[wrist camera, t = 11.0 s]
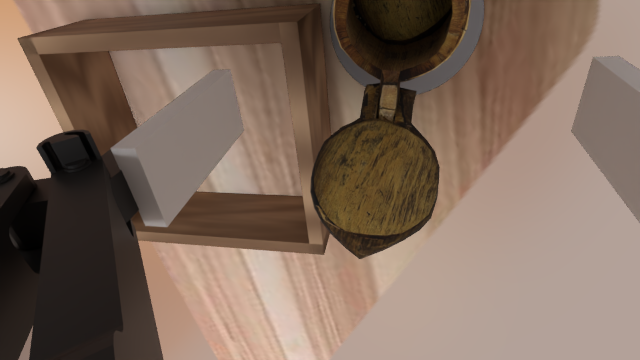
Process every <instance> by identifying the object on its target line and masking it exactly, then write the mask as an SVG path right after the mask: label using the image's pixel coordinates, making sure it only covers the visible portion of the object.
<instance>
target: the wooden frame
mask: <svg viewBox="0 0 640 360" xmlns="http://www.w3.org/2000/svg"><path fill="white" fill-rule="evenodd" d="M18 41H19V43H20V45H21V47H22V48H23V51H24V53H25V55H26V56H27V59H28V61H29V63H30V65H31V67H32V69H33V71H34V73H35V75H36V77H37V79H38V81H39V83H40V85H41V87H42V89H43V91H44V93H45V95H46V97H47V99H48V101H49V103H50V105H51V108H52V110H53V112H54V113H55V116H56V118H57V120H58V122H59V124H60V126H61V128H62V130H63V132H66V131H71V130H82V129H83V130H88V131H89V132H90V133H91V136H92V138H93V140H94V142H95V144H96V146H97V148H98V150H99V152H100V155H101V156H102V155H103V154H104V153H106V152H107V151H108V150H110V148H112V147H113V146H114V145H115V144H117V143H118V142H119V141H121V140H122V139H123V138H125V137H126V136H127V135H129V134H130V133H131V132H132V131H134V130H135V129H136V128H137V126H136V124H135V121H134V118H133V116H132V113H131V110H130V108H129V105H128V102H127V100H126V97H125V94H124V92H123V89H122V86H121V84H120V81H119V79H118V76H117V73H116V71H115V68H114V65H113V63H112V60H111V57H110V55H109V52H108V51H119V50H139V49H160V48H181V47H202V46H223V45H244V44H264V43H281V44H282V51H283V58H284V65H285V72H286V79H287V87H288V94H289V101H290V108H291V115H292V122H293V130H294V137H295V144H296V151H297V158H298V165H299V173H300V180H301V187H302V194H303V197H301V196H278V195H255V194H232V193H209V192H195V193H194V194H193V195H192V197H191V198H190V199H189V200H188V202H187V203H186V204H185V205H184V207H183V208H182V209H181V210H180V212H179V213H178V214H177V216H176V217H175V218H174V219H173V221H172V222H171V223H170V224H169V226H168V227H156V226H145V224H144V222H143V220H142V217H141V215H140V213H139V211H138V212H137V213H136V214H135V215H134V216H133V217H132V218H131V220H132V222H133V224H134V226H135V229H136V234H137V238H138V240H139V241H152V242H165V243H178V244H191V245H204V246H217V247H230V248H243V249H256V250H269V251H282V252H295V253H308V254H321V255H324V253H325V249H326V246H327V242H328V238H329V235H330V232H329V231H328V230H327V228H326V227H325V226H324V225H323V224H322V222H321V220H320V218H319V216H318V214H317V213H316V211H315V209H314V205H313V201H312V197H311V193H310V187H311V175H312V170H313V166H314V163H315V160H316V158H317V155H318V153H319V151H320V149H321V147H322V145H323V143H324V141H325V140H326V139H328V138H329V137H330V136H331V130H330V118H329V106H328V93H327V81H326V69H325V57H324V45H323V33H322V21H321V9H320V4H306V5H291V6H277V7H263V8H249V9H234V10H220V11H206V12H191V13H177V14H163V15H148V16H134V17H120V18H105V19H91V20H83V21H79V22H75V23H72V24H68V25H64V26H61V27H57V28H53V29H50V30H46V31H43V32H39V33H35V34H32V35H28V36H24V37H21V38H18Z"/></svg>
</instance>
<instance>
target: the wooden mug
mask: <svg viewBox="0 0 640 360" xmlns="http://www.w3.org/2000/svg"><path fill="white" fill-rule="evenodd" d="M470 7H471V0H334V6H333V20H334V30H335V32H336V35H337V38H338V41H339V44H340V47H341V48H342V49H343V50H344V52H345V53H346V54H347V55H348V56H349V57H350V58H351V59H352V61H353V62H354V63H355V64H356V65H357V66H359V67H360V68H362V69H363V70H364V71H366V72H367V73H368V74H369V75H371V76H373V77H375V78H377V79H378V80H380V83H376V84H367V85H366V88H365V91H364V98H363V103H362V109H361V115H360V118H359V119H357V120H356V121H354V122H352V123H350V124H348V125H346V126H343V127H341V128H340V129H339V130H338V131H336V132H335V133H334V134H333V135H331V136H330V137H329V138H328V139H326V140H325V141H324V143H323V145H322V147H321V149H320V151H319V153H318V155H317V158H316V160H315V163H314V166H313V170H312V175H311V187H310V193H311V197H312V201H313V205H314V209H315V211H316V213H317V214H318V216H319V218H320V220H321V222H322V224H323V225H324V226H325V227H326V228H327V230H328V231H329V232H330V233H331V234H332V235H333V236H334V237H335V238H336V239H337V240H338V241H339V242H340V243H341V244H342V245H343V246H344V247H345V248H346V249H348V250H349V251H350V252H351V253H353V254H354V255H355V256H356V257H358V258H359V259H362V258H364V257H367V256H369V255H372V254H375V253H377V252H380V251H382V250H385V249H387V248H389V247H391V246H393V245H395V244H397V243H399V242H401V241H403V240H405V239H406V238H408V237H409V236H411V235H413V234H414V233H416V232H417V231H419V230H420V229H421V228H422V227H423V226H424V225H425V224H426V223H427V222H428V221H429V219H430V218H431V216H432V213H433V210H434V207H435V203H436V200H437V195H438V183H439V168H440V167H439V164H438V160H437V157H436V154H435V151H434V150H433V148H432V147H431V146H430V144H429V143H428V141H427V140H426V139H425V138H424V137H423V136H422V135H421V133H420V132H419V131H418V130H417V129H416V128H415V127H414V126H413V125H412V123H411V120H412V111H413V104H414V100H415V96H416V92H417V91H414V90H410V89H405V88H401V87H400V82H407V81H409V80H412V79H415V78H417V77H420V76H422V75H424V74H426V73H428V72H430V71H432V70H434V69H436V68H437V67H438V66H440V65H441V64H442V63H444V62H445V61H446V60H448V59H449V58H450V57H451V56H452V54H453V53H454V51H455V50H456V48H457V47H458V46H459V44H460V43H461V41H462V39H463V37H464V35H465V33H466V30H467V27H468V21H469V14H470Z"/></svg>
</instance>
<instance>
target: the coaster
mask: <svg viewBox="0 0 640 360" xmlns="http://www.w3.org/2000/svg"><path fill="white" fill-rule="evenodd" d="M333 6H334V0H333V3H332V7H331V14H330V31H331V39H332V42H333V46H334V49H335V52H336V54H337V57H338V58H339V60H340V62H341V64H342V65H343V67H344V68H345V69H346V71H347V72H348V73H349V74H350V75H351V76H352V77H353V78H354V79H355V80H356V81H358V82H359V83H360V84H362V85H363V86H365V87H366V85H367V84H376V83H380V80H378V79H377V78H375V77H373V76H371V75H369V74H368V73H367V72H366V71H364V70H363V69H362V68H360V67H359V66H357V65H356V64H355V63H354V62H353V61H352V59H351V58H350V57H349V56H348V55H347V54H346V53H345V52H344V50H343V49H342V48H341V47H340V44H339V41H338V38H337V35H336V32H335V30H334V20H333ZM483 20H484V0H471V7H470V14H469V21H468V27H467V30H466V33H465V35H464V37H463V39H462V41H461V43H460V44H459V46H458V47H457V48H456V50H455V51H454V53H453V54H452V56H451V57H450V58H449V59H448V60H446V61H445V62H444V63H442V64H441V65H440V66H438V67H437V68H436V69H434V70H432V71H430V72H428V73H426V74H424V75H422V76H420V77H417V78H415V79H412V80H409V81H407V82H400V87H401V88H405V89H410V90H414V91H417V92H416V95H417V94H421V93H424V92H427V91H430V90H432V89H434V88H436V87H438V86H440V85H442V84H443V83H445V82H446V81H448V80H449V79H450V78H451V77H453V76H454V75H455V74H456V73H457V72H458V71H459V70H460V69H461V68H462V67H463V66H464V64H465V63H466V62H467V61H468V59H469V57H470V56H471V54H472V53H473V51H474V49H475V47H476V45H477V42H478V40H479V37H480V34H481V31H482V26H483Z"/></svg>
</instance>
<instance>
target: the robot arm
mask: <svg viewBox="0 0 640 360" xmlns="http://www.w3.org/2000/svg"><path fill="white" fill-rule="evenodd" d="M243 131H244V128H243V123H242V119H241V114H240V110H239V105H238V101H237V97H236V92H235V88H234V83H233V79H232V74H231V70H230V69H226V70H212V71H211V72H210V73H209V74H207V75H206V76H205V77H203V78H202V79H201V80H199V81H198V82H197V83H195V84H194V85H193V86H191V87H190V88H189V89H188V90H186V91H185V92H184V93H182V94H181V95H180V96H178V97H177V98H176V99H174V100H173V101H172V102H171V103H169V104H168V105H167V106H165V107H164V108H163V109H161V110H160V111H159V112H157V113H156V114H155V115H153V116H152V117H151V118H150V119H148V120H147V121H146V122H144V123H143V124H142V125H140V126H139V127H138V128H136V129H135V130H134V131H132V132H131V133H130V134H129V135H127V136H126V137H125V138H123V139H122V140H121V141H119V142H118V143H117V144H115V145H114V146H113V147H112V148H110V150H108V151H107V152H106V153H104V154H103V155H102V156H101V155H100V152H99V150H98V148H97V146H96V144H95V142H94V140H93V138H92V136H91V133H90V132H89V131H88V130H83V129H82V130H71V131H66V132H63V133H59V134H56V135H54V136H51V137H49V138H47V139H45V140H44V141H42V142H41V143H39V145H38V146H37V150H38V151H39V153H40V155H41V157H42V158H43V160H44V161H45V164H46V165H47V167H48V169H49V171H50V172H51V178H46V179H39V180H34V179H33V178H32V176H31V174H30V173H29V171H28V170H27V168H26V167H22V166H15V167H8V168H0V360H18V359H19V356H20V354H21V351H22V349H23V347H24V345H25V342H26V340H27V338H28V336H29V333H30V331H31V328H32V326H33V332H32V340H31V349H30V357H29V360H163V355H162V351H161V346H160V341H159V337H158V332H157V327H156V323H155V318H154V313H153V309H152V304H151V299H150V295H149V290H148V285H147V280H146V276H145V271H144V266H143V262H142V258H141V252H140V248H139V243H138V238H137V234H136V229H135V226H134V224H133V222H132V220H131V218H132V217H133V216H134V215H135V214H136V213H137V212H138V211H139V213H140V215H141V217H142V220H143V222H144V224H145V226H156V227H168V226H169V224H170V223H171V222H172V221H173V219H174V218H175V217H176V216H177V214H178V213H179V212H180V210H181V209H182V208H183V207H184V205H185V204H186V203H187V202H188V200H189V199H190V198H191V197H192V195H193V194H194V193H195V192H196V190H197V189H198V188H199V186H200V185H201V184H202V183H203V181H204V180H205V179H206V178H207V176H208V175H209V174H210V173H211V171H212V170H213V169H214V168H215V166H216V165H217V164H218V163H219V161H220V160H221V159H222V157H223V156H224V155H225V154H226V152H227V151H228V150H229V149H230V147H231V146H232V145H233V144H234V142H235V141H236V140H237V139H238V137H239V136H240V135H241V134H242V132H243ZM571 131H572V133H573V134H574V136H575V137H576V138H577V140H578V141H579V142H580V144H581V145H582V146H583V148H584V149H585V150H586V152H587V153H588V154H589V156H590V157H591V158H592V160H593V161H594V162H595V164H596V165H597V166H598V168H599V169H600V170H601V172H602V173H603V174H604V176H605V177H606V178H607V180H608V181H609V182H610V184H611V185H612V186H613V188H614V189H615V190H616V192H617V193H618V194H619V196H620V197H621V198H622V200H623V201H624V202H625V204H626V205H627V207H628V208H629V209H630V210H631V212H632V213H633V214H634V216H635V217H636V219H637V220H638V221H639V223H640V70H639V69H638V68H637V67H635V66H633V65H632V64H630V63H629V62H627V61H626V60H624V59H623V58H621V57H620V56H611V57H610V56H608V57H593V59H592V63H591V66H590V69H589V73H588V76H587V80H586V83H585V86H584V90H583V93H582V96H581V100H580V103H579V107H578V110H577V114H576V117H575V120H574V123H573V127H572V130H571Z"/></svg>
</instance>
